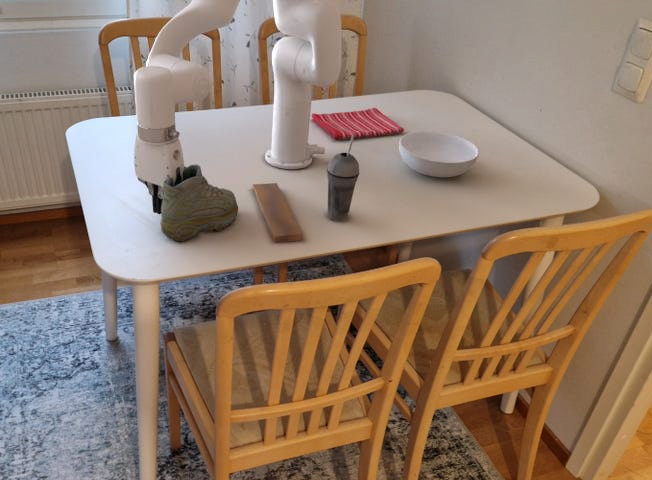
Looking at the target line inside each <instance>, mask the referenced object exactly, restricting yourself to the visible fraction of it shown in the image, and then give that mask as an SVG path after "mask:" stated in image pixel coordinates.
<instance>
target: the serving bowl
mask: <svg viewBox="0 0 652 480" xmlns="http://www.w3.org/2000/svg"><path fill="white" fill-rule="evenodd" d="M398 142H399V143H398V148H399V149H398V151H399V155H400V157H401V159H402V160H403V162H404V163H405V165H407V166H408V167H409V168H410V169H412V170H413V171H415V172H417V173H419V174H422V175H426V176H430V177H435V178H436V177H437V178H452V177H457V176H460V175H463V174H466V173H467V172H468V171H470V170H471V169H472V168H473V166H474V165H475V164H476V162H477V160H478V158H479V156H480V150H479V147H477V145H475V144H474V143H473V142H471V141H470V140H468V139H466V138H464V137H462V136H458V135H455V134H452V133H446V132H443V131H442V132H441V131H435V130H417V131H412V132H408V133H406V134H404V135H402V136H401V137H400V139H399V141H398Z"/></svg>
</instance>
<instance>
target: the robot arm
mask: <svg viewBox="0 0 652 480" xmlns="http://www.w3.org/2000/svg"><path fill="white" fill-rule="evenodd" d="M240 1H241V0H191V1H190V3H189V4H188V5H187V6H186V7H184V8H182V9H181V10H179V12H177V13H176V14H175V15H174V16H173V17H172V18H171V19H170V20H168V22H167V23H166V24H165V25H163V27H162V28H161V30H160V31H159V32H158V34H157V36H156V38H155V40H154V42H153V44H152V47H151V48H150V49H151V50H150V51H149V54H148V57H147V61H146V65H145V66H141V67H139V68H138V69H137V70H135V72H134V75H133V84H134V85H133V86H134V100H135V115H136V130H137V133H136V135H135V139H134V150H133V165H134V174H135V176H136V177H137V181H139V182H140V183H141V184H143V185H145V187H146V188H147V189H148V194H149V195H150V196H151V200H152V203H151V205H152V212H153V213H154V214H157V215H162V214H161V205H162V201H163V192H164V191H163V186H164V185H163V183H164V181H165V180H167V178H168V177H170V178H172V179H173V185H174V183H175V186H177V185H178V184H180V181H179V176H178V177H177V179H176V169H177V168H178V167H179V168H180V176H181V179H182V181H181V182H183V171H184V166H185V160H184V154H183V148H182V144H181V141H180V138H179V137H180V132H179V131H178V130H176V105H181V104H191V103H197V102H201V101H202V100H204V99H206V98H207V96H208V95H209V94H210V93H211V90H212V87H213V78H212V74H211V73H210V71H209V70H208V69H207V68H206V67H204V66H202V65H200V64H198V63H195V62H193V61H191V60H190V61H189V60H187V59H184V58H182V57H180V56H181V54H182V52H183V50H184V49H185V47H186V46H187V45H188V44H189V43H190V42H191V41H192V40H194V39H195V38H197V37H199V36H201V35H202V34H206V33H209V32H211V31H215V30H218V29H221V28H224V27H227V26H229V25H230V24H231V22H232V20H233V19H234V16H235V13H236V11H237V8H238V6H239V4H240ZM272 6H273V16H274V23H275V27H276V29H277V30H278V31H280V33H282V34H284V35H287V36H284V37H281V38H280V39H279V40H277V41H276V43H275V44H274V46H273V48H272V52H271V64H272V71H273V72H272V73H273V82H274V85H273V86H274V89H273V91H274V92H273V108H272V109H273V110H272V129H271V147H270V148H269V149H268V150H267V151H265V154H264V159H265V161H266V162H267V164H269V165H271V166H273V167H276V168H279V169H284V170H299V169H304V168H307V167H309V166H310V165H311V164H312V162H313V156H314V155H324V154H325V152H326V147H325V146H318V145H319V144H318V143H311V144H310V143H309V135H310V134H309V132H310V120H311V110H312V101H313V100H312V99H313V98H312V97H313V96H312V90H311V86H310V85H312V86H315V87H320V88H329V87H331V86H333V85H335V84H336V82H337V81H338V79H339V77H340V75H341V71H342V63H343V62H342V61H343V59H342V58H343V55H342V54H343V51H342V50H343V49H342V47H343V45H342V18H341V13H340V10H339V8H338V6H337V4H335V2H333V1H332V0H272ZM168 175H169V176H168ZM175 180H176V182H175Z"/></svg>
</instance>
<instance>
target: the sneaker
mask: <svg viewBox="0 0 652 480" xmlns="http://www.w3.org/2000/svg"><path fill="white" fill-rule="evenodd" d="M168 176H169V175H168ZM178 176H179V181H180V184H178V185H177V186H175V183H174V185H173V179H172V178H170V177H168V178H167V180H165V181H164V183H163V185H164V186H163V191H164V192H163V201H162V205H161V214H160V215H161V218H160V229H161V232H162V233H163V234H164V235H165V236H166V237H167V238H169V239H172V240H173V241H174V242H179V241H180V242H185V241H186V240H187V241H189V240H192V238H195V237H196V236H197V235H198V234H199V232H200V231H204V232H207V233H213V232H214V231H215V232H220V231H221V230H222V229H226V228H228V226H231V225H232V224H233V222H234V221H235V220H236V218H237V217H238V213H239V206H238V202H237V198H236V196H235V193H234V192H233V191H232V190H229V189H226V188H223V187H222V188H219V187H218V186H213V184H209V181H208V180H207V178H206V177H205V176H204V175H203V173H202V167H201V165H198V164H190V165H188V166H185V165H184V171H183V182H181V181H182V179H181V176H180V168H179V167H178V168H177V169H176V179H177V177H178ZM175 182H176V180H175Z"/></svg>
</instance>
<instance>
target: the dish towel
mask: <svg viewBox="0 0 652 480" xmlns="http://www.w3.org/2000/svg"><path fill="white" fill-rule="evenodd" d="M311 118H312V119H311V121H312V122H313V123H315V125H317V126H318V127H319V128H320V129H322V130H323V131H324V132H325V133H326V134H327V135H328V136H329V137H330V138H331V139H332V140H334V141H338V140H348V139H350V140H351V137H352V135H354V139H360V138H368V137H377V136H378V137H379V136H388V135H394V134H398V133H399V134H400V133H403V132H404V131H405V129H404V127H402V126H400V125H399V124H398V123H396V122H395V121H393V120H392V119H390V117H388V116H386V115H385V114H384V113H382V112H381V111H380V110H379V109H378V108H377V107H372V108H368V109H362V110H353V111H343V112H342V111H341V112H331V113H312V114H311Z"/></svg>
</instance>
